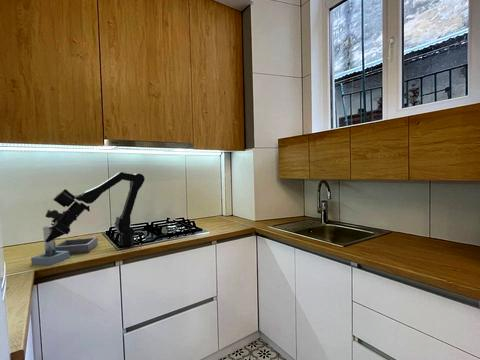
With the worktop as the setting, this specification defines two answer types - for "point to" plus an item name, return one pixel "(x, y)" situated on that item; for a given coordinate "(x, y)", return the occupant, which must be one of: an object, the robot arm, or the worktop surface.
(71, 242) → the tray
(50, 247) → the stop pin
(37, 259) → the socket block
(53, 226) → the robot arm
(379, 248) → the worktop surface
